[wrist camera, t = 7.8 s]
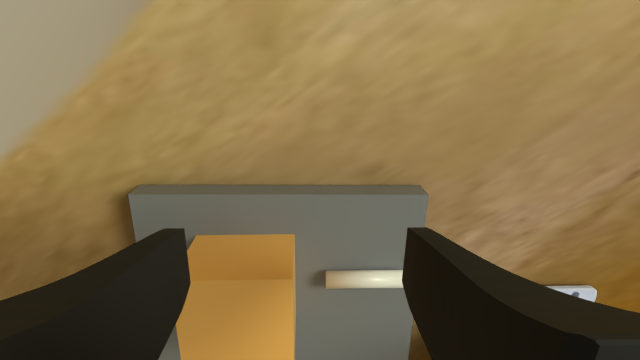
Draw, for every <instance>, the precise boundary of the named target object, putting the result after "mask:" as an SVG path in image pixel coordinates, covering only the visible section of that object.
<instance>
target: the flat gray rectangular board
mask: <svg viewBox="0 0 640 360" xmlns="http://www.w3.org/2000/svg"><path fill="white" fill-rule="evenodd" d="M128 198H129V204H130V210H131V216H132V222H133V228H134V234H135V240H136V242H138V241H140V240H142V239H144V238H145V237H147V236H149V235H151V234H153V233H155V232H157V231H160V230H162V229H165V228H184V229H185V238H186V246H187V250H188V249H189V247H190V245H191V244H192V242H193V240H194V238H195V237H196V235H265V234H295V293H296V325H295V360H408V356H409V348H410V340H411V332H412V324H413V315H412V313H411V311H410V308H409V305H408V302H407V299H406V295H405V291H404V288H403V284H402V274H403V265H404V255H405V246H406V237H407V227H424V226H425V218H426V210H427V202H428V194H427V193H426V191H425V190H424V189H423V188H422V187H421V186H420V185H139V186H138V187H137V188H135V189H134V190H133V191H132V192H131V193H129V194H128ZM158 360H181V357H180V350H179V343H178V336H177V329H176V324H175V327H174V329H173V331H172V333H171V335H170V337H169V339H168V341H167V343H166V345H165V347H164V349H163V351H162V353H161V355H160V357H159V359H158Z"/></svg>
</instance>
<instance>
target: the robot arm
mask: <svg viewBox="0 0 640 360" xmlns="http://www.w3.org/2000/svg"><path fill="white" fill-rule="evenodd" d="M190 284H191V281H190V272H189V264H188V255H187V246H186V238H185V229H184V228H165V229H162V230H160V231H157V232H155V233H153V234H151V235H149V236H147V237H145V238H144V239H142V240H140V241H138V242H136V243H134V244H132V245H131V246H129V247H127V248H125V249H123V250H121V251H119V252H118V253H116V254H114V255H112V256H110V257H108V258H106V259H104V260H102V261H100V262H98V263H96V264H94V265H91V266H89V267H87V268H85V269H83V270H81V271H79V272H77V273H75V274H72V275H70V276H68V277H65V278H63V279H60V280H58V281H55V282H53V283H50V284H48V285H45V286H43V287H40V288H37V289H34V290H31V291H28V292H25V293H23V294H20V295H17V296H14V297H11V298H8V299H5V300H2V301H0V360H158V359H159V357H160V355H161V353H162V351H163V349H164V347H165V345H166V343H167V341H168V339H169V337H170V335H171V333H172V331H173V329H174V327H175V324H176V322H177V320H178V318H179V316H180V314H181V312H182V309H183V306H184V303H185V300H186V297H187V294H188V291H189V287H190ZM402 284H403V288H404V291H405V295H406V299H407V302H408V305H409V308H410V311H411V313H412V315H413V318H414V320H415V322H416V324H417V327H418V329H419V331H420V333H421V336H422V338H423V340H424V342H425V345H426V347H427V349H428V351H429V354H430V356H431V358H432V360H640V313H636V312H631V311H627V310H623V309H619V308H615V307H611V306H607V305H603V304H600V303H596V302H595V299H596V295H597V291H596V290H595V289H594V288H593V287H592V286H588V285H585V286H543V285H540V284H537V283H535V282H532V281H530V280H528V279H525V278H523V277H520V276H518V275H516V274H513V273H511V272H509V271H507V270H504V269H502V268H500V267H498V266H496V265H494V264H492V263H490V262H488V261H486V260H484V259H483V258H481V257H479V256H477V255H475V254H473V253H472V252H470V251H468V250H466V249H464V248H463V247H461V246H459V245H457V244H456V243H454V242H452V241H451V240H449V239H447V238H445V237H444V236H442V235H440V234H438V233H437V232H435V231H433V230H431V229H429V228H426V227H407V237H406V246H405V255H404V265H403V274H402ZM573 293H574V294H573Z"/></svg>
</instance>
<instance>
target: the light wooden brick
mask: <svg viewBox="0 0 640 360" xmlns="http://www.w3.org/2000/svg"><path fill="white" fill-rule="evenodd" d="M187 255H188V264H189V272H190V281H191V284H190V287H189V291H188V294H187V297H186V300H185V303H184V306H183V309H182V312H181V314H180V316H179V318H178V320H177V322H176V329H177V336H178V343H179V350H180V357H181V360H295V325H296V293H295V234H265V235H196V237H195V238H194V240H193V242H192V244H191V245H190V247H189V249H188V250H187Z"/></svg>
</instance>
